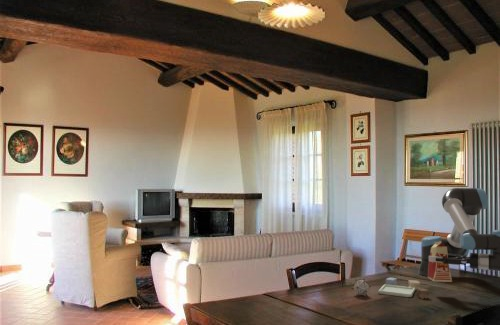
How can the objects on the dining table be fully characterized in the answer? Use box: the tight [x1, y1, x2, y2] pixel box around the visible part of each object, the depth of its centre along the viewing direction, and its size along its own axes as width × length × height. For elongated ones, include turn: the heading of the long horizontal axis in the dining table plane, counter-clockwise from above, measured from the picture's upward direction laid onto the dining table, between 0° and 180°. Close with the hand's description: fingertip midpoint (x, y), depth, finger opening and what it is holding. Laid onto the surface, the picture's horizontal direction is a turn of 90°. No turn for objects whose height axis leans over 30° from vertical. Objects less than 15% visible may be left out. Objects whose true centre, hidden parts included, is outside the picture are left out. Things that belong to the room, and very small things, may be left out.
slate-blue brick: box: [385, 277, 398, 286], centre depth 249 cm, size 6×4×4 cm, turn 142°
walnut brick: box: [416, 287, 430, 300], centre depth 225 cm, size 4×4×4 cm
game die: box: [351, 278, 372, 297], centre depth 228 cm, size 9×8×10 cm
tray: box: [378, 283, 416, 298], centre depth 235 cm, size 16×16×2 cm
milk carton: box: [427, 241, 453, 283], centre depth 230 cm, size 9×9×20 cm
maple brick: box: [407, 279, 421, 291], centre depth 243 cm, size 5×5×4 cm
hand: (429, 256), depth 233 cm, fingers closed on milk carton, 9 cm apart
